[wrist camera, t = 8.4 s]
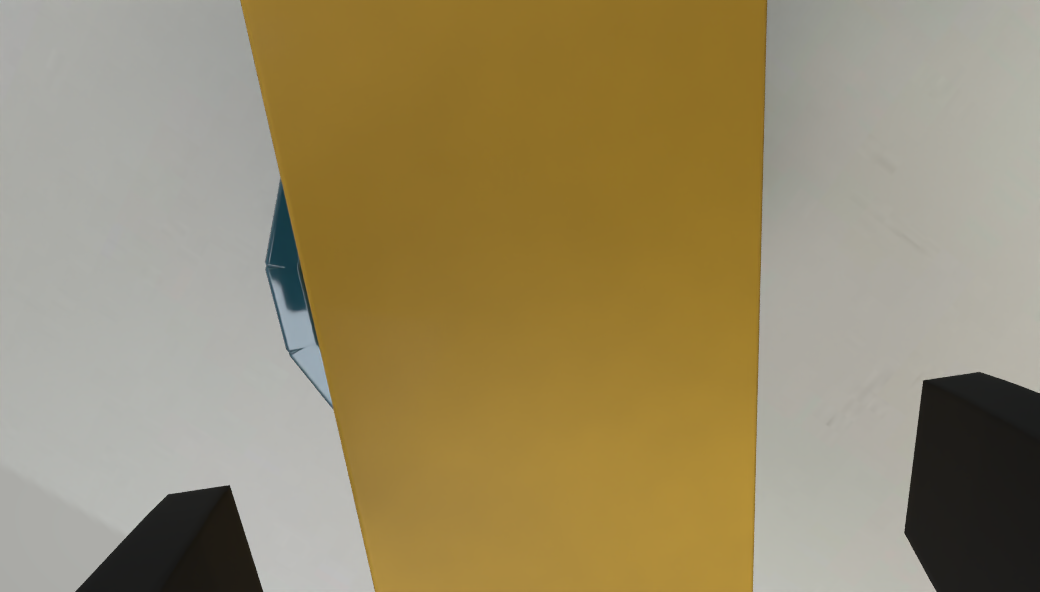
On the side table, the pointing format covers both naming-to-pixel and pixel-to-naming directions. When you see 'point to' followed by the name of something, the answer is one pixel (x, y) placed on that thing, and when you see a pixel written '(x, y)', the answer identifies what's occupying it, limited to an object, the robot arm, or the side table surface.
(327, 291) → the block
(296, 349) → the coffee cup
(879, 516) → the side table surface
